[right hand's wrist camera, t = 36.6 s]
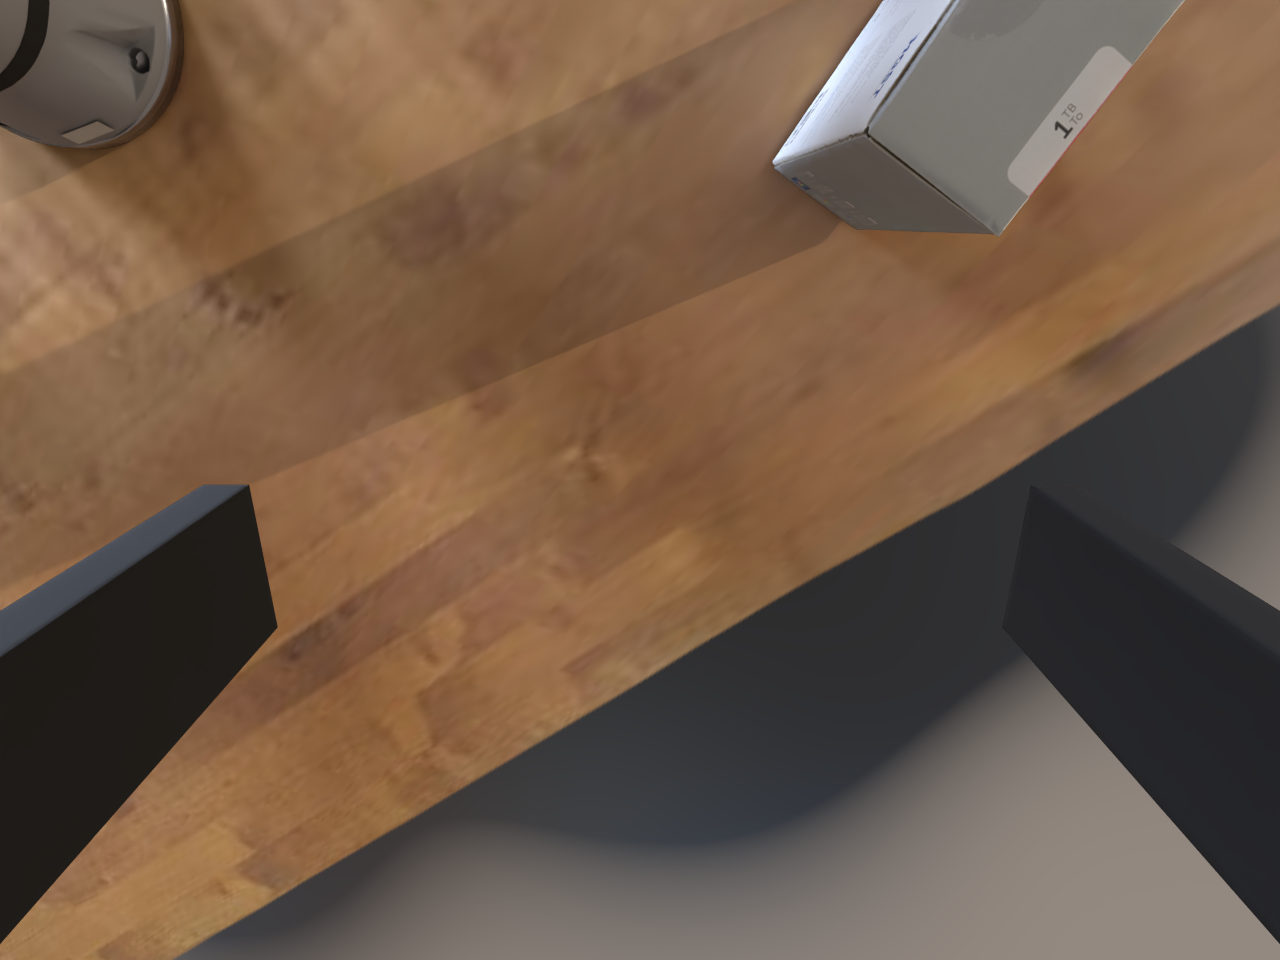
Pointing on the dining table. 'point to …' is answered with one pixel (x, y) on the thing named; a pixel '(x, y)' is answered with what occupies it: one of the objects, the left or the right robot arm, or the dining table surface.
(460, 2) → the dining table surface
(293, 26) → the dining table surface
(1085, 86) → the hard drive box
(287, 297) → the dining table surface
